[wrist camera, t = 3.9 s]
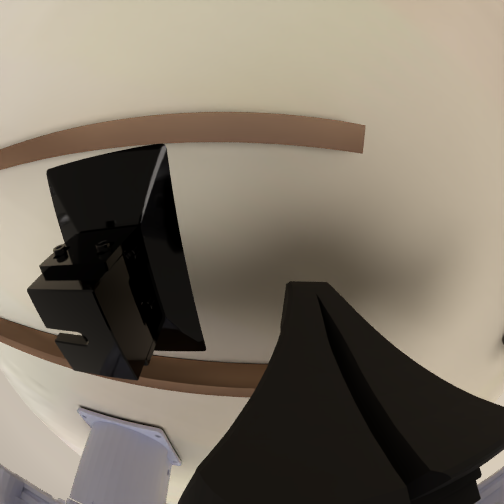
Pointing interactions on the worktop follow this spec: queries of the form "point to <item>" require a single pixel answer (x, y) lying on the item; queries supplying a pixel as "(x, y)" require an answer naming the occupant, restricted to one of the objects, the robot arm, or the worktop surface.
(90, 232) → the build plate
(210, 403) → the worktop surface
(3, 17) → the worktop surface
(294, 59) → the worktop surface
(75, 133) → the loading bay
